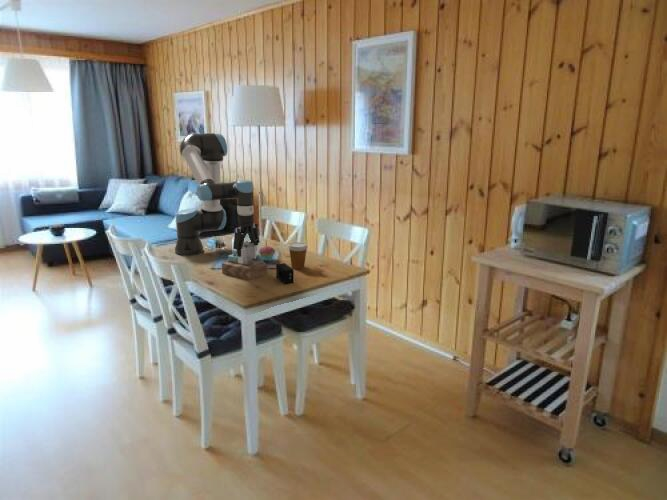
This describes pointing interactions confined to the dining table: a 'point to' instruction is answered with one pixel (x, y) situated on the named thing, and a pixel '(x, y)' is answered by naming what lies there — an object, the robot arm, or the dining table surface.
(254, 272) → the hitch block
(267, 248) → the cupcake
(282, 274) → the digital camera
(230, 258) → the keeper
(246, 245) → the grey stone pillar
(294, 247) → the disposable coffee cup
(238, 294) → the dining table surface
